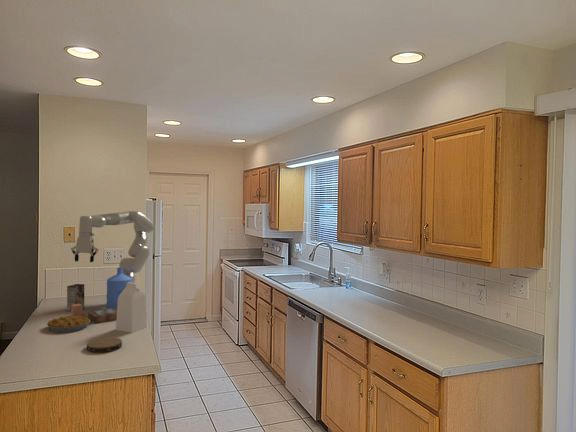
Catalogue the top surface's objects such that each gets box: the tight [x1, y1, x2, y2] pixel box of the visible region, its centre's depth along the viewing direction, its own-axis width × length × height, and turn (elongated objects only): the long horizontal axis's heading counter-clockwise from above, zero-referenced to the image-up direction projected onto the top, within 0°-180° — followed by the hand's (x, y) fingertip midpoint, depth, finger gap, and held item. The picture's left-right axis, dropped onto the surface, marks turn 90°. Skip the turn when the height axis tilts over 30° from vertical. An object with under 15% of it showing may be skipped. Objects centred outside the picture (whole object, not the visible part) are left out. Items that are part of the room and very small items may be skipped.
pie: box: [46, 315, 91, 333], centre depth 248 cm, size 22×22×5 cm
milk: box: [115, 282, 148, 334], centre depth 248 cm, size 12×12×26 cm
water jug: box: [105, 267, 132, 309], centre depth 288 cm, size 16×16×28 cm
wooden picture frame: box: [87, 308, 117, 324], centre depth 268 cm, size 16×14×4 cm
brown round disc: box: [86, 336, 123, 354], centre depth 216 cm, size 16×16×3 cm
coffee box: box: [66, 283, 85, 312], centre depth 288 cm, size 9×6×16 cm
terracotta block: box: [70, 304, 83, 316], centre depth 272 cm, size 5×5×7 cm
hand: (84, 261), depth 282 cm, fingers open, 9 cm apart
